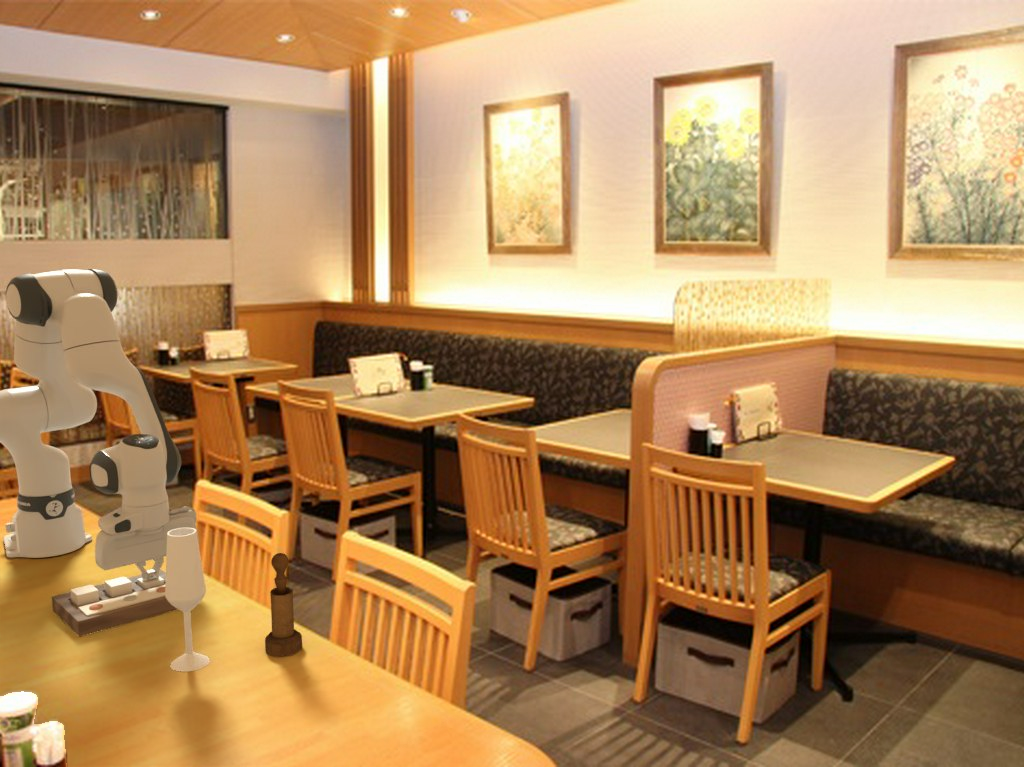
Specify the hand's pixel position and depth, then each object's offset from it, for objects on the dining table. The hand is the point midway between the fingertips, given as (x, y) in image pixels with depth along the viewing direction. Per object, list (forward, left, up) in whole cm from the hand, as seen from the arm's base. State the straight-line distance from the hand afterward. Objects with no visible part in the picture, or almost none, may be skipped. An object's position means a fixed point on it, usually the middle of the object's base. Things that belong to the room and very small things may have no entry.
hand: (150, 579), depth 197 cm
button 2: (0, 0, -3) cm, 3 cm away
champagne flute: (+34, -7, -4) cm, 35 cm away
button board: (+2, -7, -4) cm, 8 cm away
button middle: (0, -6, -2) cm, 7 cm away
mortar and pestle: (+40, +8, -4) cm, 41 cm away
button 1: (0, -13, -2) cm, 13 cm away
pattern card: (+6, -7, -1) cm, 9 cm away
